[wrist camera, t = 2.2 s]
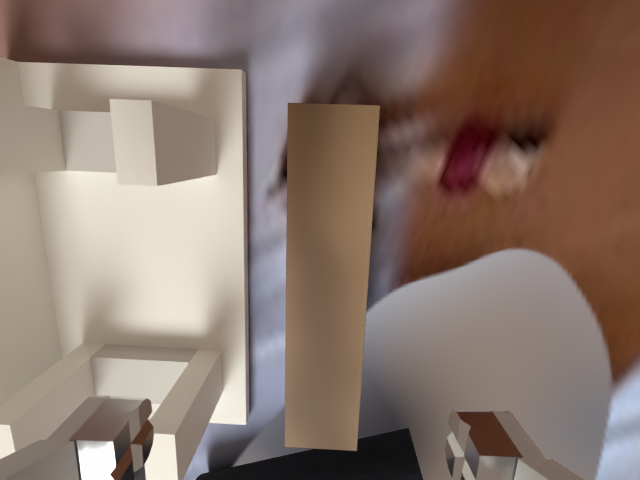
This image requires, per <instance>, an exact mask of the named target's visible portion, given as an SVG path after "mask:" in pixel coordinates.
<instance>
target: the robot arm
mask: <svg viewBox="0 0 640 480" xmlns="http://www.w3.org/2000/svg"><path fill="white" fill-rule="evenodd" d="M151 413H152V405H151V401H150V400H149V399H148V398H136V397H120V396H100V395H93V396H90V397H88V398H87V399H86V400H85V401H84V402H83V403H82V404H81V405H80V406H79V407H78V408H77V409H76V410H75V411H74V412H73V413H72V414H71V415H70V416H69V417H68V418H67V419H66V420H65V421H64V422H63V423H62V424H61V425H60V426H59V427H58V428H57V429H56V430H55V431H54V432H53V433H52V434H51V435H50V436H49V437H48V438H47V439H46V440H38V441H36V442H34V443H32V444H30V445H28V446H26V447H24V448H22V449H20V450H18V451H16V452H14V453H12V454H10V455H8V456H6V457H4V458H2V459H0V480H134V472H136V471H137V470H139V469H140V468H141V467H143V466H144V464H145V462H146V461H147V459H148V457H149V454H150V451H151V448H152V445H153V438H154V428H153V425H152V424H151V423H150V422H149V420H148V418H149V416H150V414H151ZM449 425H450V427H451V429H452V432H451V434H450V435H449V436H448V437H447V439H446V460H447V464H448V468H449V471H450V474H451V476H452V478H453V479H454V480H584V479H583V478H581V477H579V476H578V475H576V474H575V473H573V472H571V471H570V470H568V469H567V468H565V467H564V466H562V465H560V464H559V463H557V462H556V461H554V460H552V459H546V458H545V457H544V455H543V454H542V453H541V452H540V450H539V449H538V447H537V446H536V445H535V443H534V442H533V441H532V439H531V438H530V437H529V435H528V434H527V433H526V431H525V430H524V429H523V427H522V426H521V425H520V423H519V422H518V421H517V419H516V418H515V417H514V415H513V414H512V413H510V412H509V411H489V412H486V411H485V412H484V411H457V410H452V412H451V414H450V418H449Z"/></svg>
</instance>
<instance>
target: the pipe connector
mask: <svg viewBox="0 0 640 480" xmlns="http://www.w3.org/2000/svg"><path fill="white" fill-rule="evenodd" d="M196 480H423V478H422V474H421V471H420V467H419V464H418V460H417V456H416V453H415V450H414V446H413V442H412V439H411V435H410V432H409V429H408V428H407V429H402V430H398V431H393V432H389V433H384V434H380V435H375V436H371V437H366V438H361V439H358V440H357V451H350V450H332V449H312V450H307V451H304V452H299V453H294V454H289V455H285V456H281V457H276V458H271V459H267V460H262V461H258V462H254V463H249V464H245V465H241V466H235V467H231V468H226V469H222V470H217V471H213V472H208V473H204V474H201V475H200V476H198V477H197V479H196Z"/></svg>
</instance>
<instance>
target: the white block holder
mask: <svg viewBox="0 0 640 480" xmlns="http://www.w3.org/2000/svg"><path fill="white" fill-rule="evenodd" d="M93 395H100V396H120V397H136V398H148V399H149V400H150V401H151V405H152V413H151V414H150V416H149V418H148V419H150V421H149V422H150V423H151V424H152V425H153V428H154V438H153V445H152V448H151V451H150V454H149V457H148V459H147V461H146V462H145V475H146V480H183V478H184V476H185V473H186V471H187V469H188V467H189V465H190V463H191V460H192V458H193V456H194V454H195V452H196V449H197V447H198V445H199V443H200V441H201V438H202V436H203V434H204V432H205V430H206V428H207V425H208V423H222V424H239V425H246V424H247V421H248V418H249V414H250V410H249V312H248V215H247V117H246V73H245V72H244V71H243V70H240V69H211V68H182V67H153V66H124V65H95V64H66V63H37V62H16V61H13V60H9V59H6V58H2V57H0V459H2V458H4V457H6V456H8V455H10V454H12V453H14V452H16V451H18V450H20V449H22V448H24V447H26V446H28V445H30V444H32V443H34V442H36V441H38V440H46V439H47V438H48V437H49V436H50V435H51V434H52V433H53V432H54V431H55V430H56V429H57V428H58V427H59V426H60V425H61V424H62V423H63V422H64V421H65V420H66V419H67V418H68V417H69V416H70V415H71V414H72V413H73V412H74V411H75V410H76V409H77V408H78V407H79V406H80V405H81V404H82V403H83V402H84V401H85V400H86V399H87V398H88V397H90V396H93Z"/></svg>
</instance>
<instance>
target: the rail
mask: <svg viewBox="0 0 640 480" xmlns="http://www.w3.org/2000/svg"><path fill="white" fill-rule="evenodd" d="M379 113H380V106H379V105H344V104H310V103H288V144H287V250H286V356H285V447H295V448H296V447H297V448H314V449H332V450H350V451H357V440H358V425H359V409H360V395H361V380H362V379H361V378H362V366H363V350H364V336H365V321H366V306H367V291H368V276H369V262H370V247H371V232H372V217H373V202H374V187H375V173H376V158H377V143H378V128H379Z"/></svg>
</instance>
